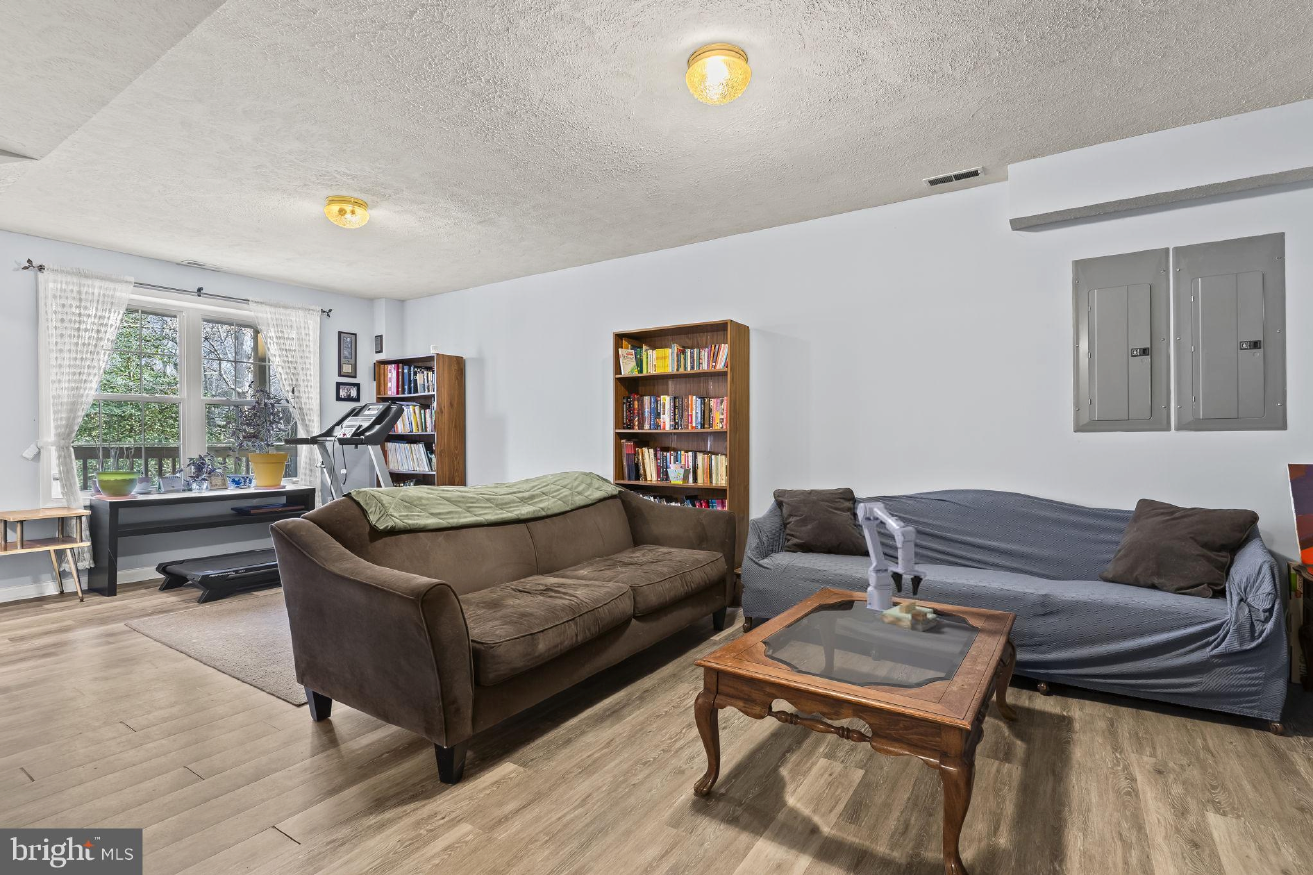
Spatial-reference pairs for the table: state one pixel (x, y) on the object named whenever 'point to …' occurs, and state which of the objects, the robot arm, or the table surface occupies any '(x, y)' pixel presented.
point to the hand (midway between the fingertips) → (907, 593)
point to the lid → (907, 610)
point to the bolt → (919, 615)
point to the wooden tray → (911, 622)
